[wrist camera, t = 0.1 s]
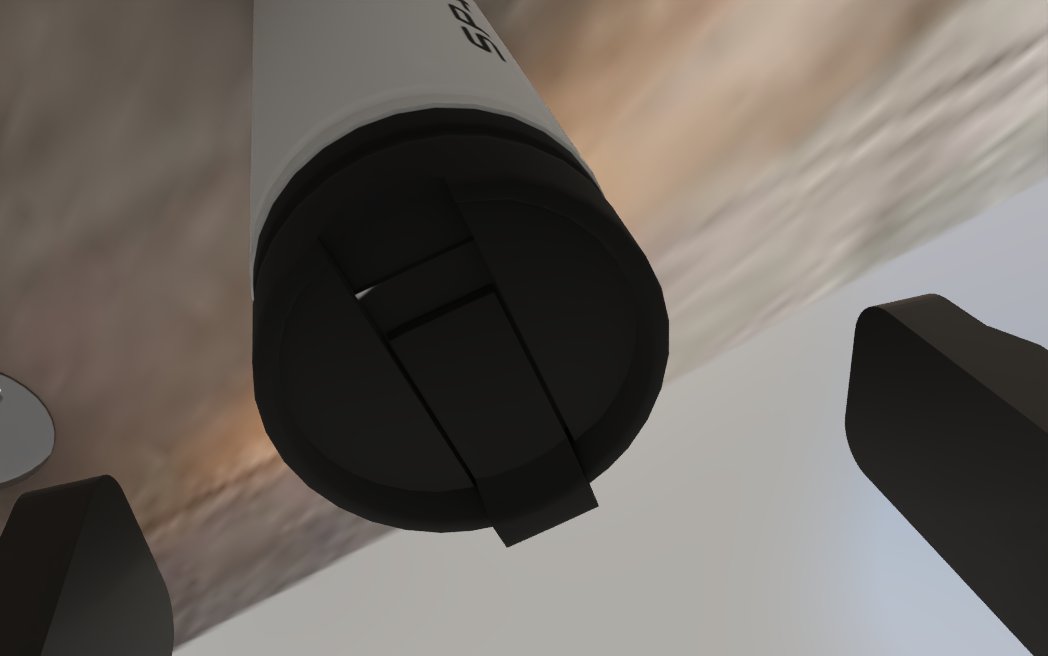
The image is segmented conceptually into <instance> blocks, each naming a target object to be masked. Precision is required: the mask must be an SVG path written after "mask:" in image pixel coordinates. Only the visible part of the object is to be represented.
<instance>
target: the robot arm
mask: <svg viewBox="0 0 1048 656" xmlns="http://www.w3.org/2000/svg"><path fill="white" fill-rule="evenodd" d="M845 430H846V436H847V440H848V444H849V447H850V450H851V452H852V455H853V457H854V459H855V461H856V462H857V465H858V466H859V468H860V469H861V470H862V472H863V473H864V474H865V475H866V476H867V477H868V478H869V480H870V481H872V482H873V484H874V485H875V486H876V487H877V488H878V489H879V490H880V491H881V492H882V493H883V495H884V496H885V497H886V498H887V499H888V500H889V501H890V502H891V503H892V504H893V505H894V506H895V507H896V508H897V509H898V511H899V512H900V513H901V514H902V515H903V516H904V517H905V518H906V519H907V520H908V521H909V523H910V524H911V525H912V526H913V527H914V528H915V529H916V530H917V531H918V532H919V533H920V534H921V535H922V536H923V538H925V540H926V541H927V542H928V543H929V544H930V545H931V546H932V547H933V548H934V549H935V550H936V551H937V553H938V554H939V555H940V556H941V557H942V558H943V559H944V560H945V561H946V562H947V563H948V564H949V565H950V567H951V568H952V569H953V570H954V571H955V572H956V573H957V574H958V575H959V576H960V577H961V578H962V579H963V581H964V582H965V583H966V584H967V585H968V586H969V587H970V588H971V589H972V590H973V591H974V592H975V593H976V595H977V596H978V597H979V598H980V599H981V600H982V601H983V602H984V603H985V604H986V605H987V606H988V607H989V608H990V610H991V611H992V612H993V613H994V614H995V615H996V616H997V617H998V618H999V619H1000V620H1001V621H1002V622H1003V624H1004V625H1006V627H1007V628H1008V629H1009V630H1010V631H1011V632H1012V633H1013V634H1014V635H1015V636H1016V637H1017V638H1018V639H1019V641H1020V642H1021V643H1022V644H1023V645H1024V646H1025V647H1026V648H1027V649H1028V650H1029V651H1030V653H1032V655H1033V656H1048V350H1047V349H1045V348H1044V347H1042V346H1041V345H1038V344H1036V343H1033V342H1030V341H1028V340H1025V339H1022V338H1019V337H1017V336H1014V335H1011V334H1008V333H1006V332H1003V331H1000V330H998V329H995V328H992V327H989V326H986V325H985V324H983V323H982V322H980V321H979V320H977V319H976V318H974V317H973V316H971V315H970V314H968V313H967V312H965V311H964V310H962V309H961V308H959V307H958V306H956V305H955V304H953V303H952V302H950V301H949V300H947V299H946V298H944V297H942V296H940V295H937V294H926V295H921V296H917V297H912V298H908V299H903V300H899V301H895V302H890V303H886V304H881V305H877V306H872V307H868V308H867V309H865V310H863V312H862V313H861V314H860V316H859V318H858V320H857V323H856V328H855V336H854V344H853V353H852V362H851V372H850V379H849V388H848V398H847V406H846V414H845ZM173 641H174V625H173V614H172V607H171V602H170V598H169V594H168V590H167V587H166V585H165V582H164V580H163V577H162V575H161V573H160V571H159V569H158V567H157V564H156V562H155V560H154V558H153V556H152V553H151V551H150V549H149V547H148V545H147V542H146V540H145V538H144V536H143V534H142V532H141V529H140V527H139V525H138V523H137V521H136V518H135V516H134V514H133V512H132V510H131V507H130V505H129V503H128V501H127V499H126V497H125V494H124V492H123V490H122V488H121V487H120V485H119V484H118V482H117V481H116V480H115V479H114V478H113V477H111V476H110V475H102V476H98V477H93V478H89V479H84V480H80V481H75V482H71V483H66V484H62V485H57V486H53V487H48V488H44V489H39V490H35V491H30V492H26V493H24V494H22V495H21V496H20V497H19V498H18V500H17V501H16V503H15V505H14V507H13V510H12V512H11V514H10V517H9V519H8V521H7V523H6V526H5V528H4V530H3V533H2V535H1V537H0V656H172V650H173Z"/></svg>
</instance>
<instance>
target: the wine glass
mask: <svg viewBox="0 0 1048 656" xmlns="http://www.w3.org/2000/svg"><path fill="white" fill-rule="evenodd" d="M54 443H55V427H54V423H53V419H52V417H51V415H50V414H49V412H48V410H47V408H46V407H45V405H44V404H43V403H42V402H41V401H40V399H39V398H38V397H37V396H36V395H35V394H33V393H32V392H31V391H30V390H29V389H28V388H26V387H25V386H23V385H22V384H20V383H19V382H17V381H15V380H14V379H12V378H10V377H8V376H6V375H4V374H1V373H0V489H4V488H7V487H10V486H13V485H15V484H17V483H19V482H21V481H23V480H25V479H27V478H28V477H30V476H31V475H32V474H34V473H35V472H37V471H38V470H39V469H40V468H41V467H42V466H43V465H44V464H45V462H46V461H47V460H48V458H49V456H50V454H51V453H52V450H53V447H54Z"/></svg>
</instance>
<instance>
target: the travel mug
mask: <svg viewBox="0 0 1048 656" xmlns="http://www.w3.org/2000/svg"><path fill="white" fill-rule="evenodd" d="M250 248H251V250H250V266H249V267H250V280H251V294H252V300H253V352H252V365H253V379H254V393H255V400H256V403H257V407H258V410H259V413H260V416H261V419H262V422H263V425H264V428H265V431H266V433H267V435H268V436H269V438H270V440H271V441H272V443H273V444H274V446H275V448H276V449H277V451H278V453H279V454H280V456H281V457H282V459H283V461H284V462H285V463H286V464H287V465H288V466H289V467H290V468H291V469H292V470H293V471H294V472H295V473H296V474H297V475H298V476H299V477H300V478H301V479H302V480H303V481H304V482H305V483H306V485H307V486H308V487H310V488H311V489H313V490H314V491H316V492H317V493H319V494H320V495H322V496H323V497H324V498H326V499H327V500H329V501H330V502H332V503H333V504H335V505H336V506H338V507H340V508H342V509H344V510H346V511H349V512H351V513H353V514H356V515H358V516H360V517H362V518H365V519H367V520H369V521H372V522H376V523H380V524H384V525H388V526H392V527H396V528H400V529H404V530H415V531H426V532H438V533H445V532H460V531H473V530H478V529H483V528H488V527H493V528H494V529H495V531H496V532H497V534H498V535H499V537H500V538H501V540H502V541H503V542H504V544H505V546H506V547H510V546H512V545H514V544H516V543H519V542H521V541H523V540H526V539H528V538H530V537H532V536H535V535H537V534H539V533H541V532H543V531H545V530H548V529H550V528H553V527H555V526H557V525H559V524H561V523H564V522H566V521H568V520H570V519H572V518H574V517H577V516H579V515H581V514H583V513H585V512H587V511H590V510H591V509H594V508H596V507H598V503H597V500H596V498H595V496H594V494H593V491H592V488H591V486H590V484H589V483H590V482H592V481H593V480H594V479H595V478H597V477H598V476H599V475H601V474H602V473H603V472H604V471H605V470H607V469H608V468H609V467H610V466H611V465H612V464H613V463H614V462H615V461H616V460H617V459H618V458H619V457H620V456H621V455H622V454H623V453H624V452H625V451H626V450H627V449H628V448H629V446H630V445H631V443H632V442H633V440H634V439H635V437H636V436H637V434H638V433H639V431H640V430H641V428H642V427H643V425H644V424H645V423H646V421H647V420H648V417H649V415H650V413H651V411H652V408H653V406H654V404H655V401H656V399H657V397H658V394H659V392H660V390H661V387H662V383H663V378H664V374H665V369H666V365H667V360H668V356H669V319H668V314H667V310H666V306H665V301H664V297H663V292H662V288H661V286H660V284H659V282H658V280H657V278H656V276H655V274H654V272H653V270H652V268H651V266H650V264H649V261H648V259H647V257H646V256H645V254H644V253H643V251H642V250H641V248H640V247H639V245H638V244H637V243H636V241H635V240H634V238H633V237H632V235H631V234H630V232H629V231H628V229H627V228H626V226H625V225H624V224H623V222H622V221H621V219H620V218H619V216H618V215H617V213H616V212H615V210H614V209H613V207H612V206H611V205H610V204H609V202H608V201H607V200H606V198H605V196H604V194H603V192H602V190H601V188H600V186H599V184H598V182H597V180H596V178H595V176H594V174H593V172H592V171H591V169H590V168H589V166H588V165H587V164H586V162H585V161H584V160H583V159H582V158H581V156H580V154H579V152H578V151H577V149H576V148H575V146H574V145H573V143H572V142H571V141H570V139H569V138H568V136H567V135H566V133H565V132H564V130H563V129H562V128H561V126H560V125H559V123H558V122H557V120H556V119H555V117H554V116H553V115H552V113H551V112H550V110H549V109H548V107H547V106H546V104H545V103H544V102H543V100H542V99H541V97H540V96H539V94H538V93H537V91H536V90H535V89H534V87H533V86H532V84H531V83H530V81H529V80H528V78H527V77H526V76H525V74H524V73H523V71H522V70H521V68H520V67H519V65H518V64H517V63H516V61H515V60H514V58H513V57H512V55H511V54H510V52H509V51H508V50H507V48H506V47H505V45H504V44H503V42H502V41H501V40H500V38H499V37H498V35H497V34H496V32H495V31H494V29H493V28H492V27H491V25H490V24H489V22H488V21H487V19H486V18H485V16H484V15H483V14H482V12H481V11H480V9H479V8H478V6H477V5H476V3H475V2H474V1H473V0H254V4H253V69H252V135H251V200H250Z"/></svg>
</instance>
